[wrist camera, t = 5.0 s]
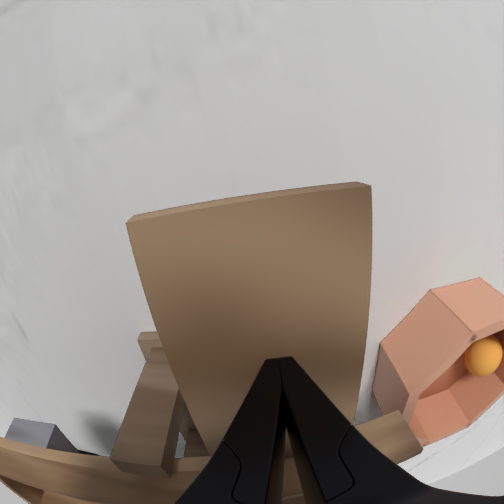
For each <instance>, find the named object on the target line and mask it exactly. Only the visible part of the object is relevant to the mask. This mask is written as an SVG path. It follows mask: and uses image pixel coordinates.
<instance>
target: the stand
mask: <svg viewBox="0 0 504 504" xmlns="http://www.w3.org/2000/svg"><path fill="white" fill-rule="evenodd" d="M137 340H138V343H139V345H140V348H141V350H142V353H143V355H144V357H145V360H146V363H145V365H144V368H143V370H142V373H141V375H140V378H139V380H138V383H137V386H136V388H135V391H134V393H133V396H132V398H131V401H130V404H129V406H128V409H127V412H126V414H125V417H124V420H123V422H122V425H121V428H120V431H119V434H118V436H117V439H116V442H115V445H114V448H113V451H112V453H111V456H110V460H111V461H112V462H113V463H114V464H115V465H116V466H117V467H118V468H119V469H120V470H121V471H122V472H127V473H133V474H139V475H147V476H155V477H164V478H171V473H172V467H173V462H174V456H175V451H176V446H177V440H178V435H179V430H180V432H181V434H182V436H183V437H184V439H185V440H186V446H185V452H184V458H191V457H205V456H210V454H209V452H208V450H207V448H206V446H205V444H204V442H203V440H202V438H201V436H200V434H199V432H198V430H197V428H196V425H195V423H194V421H193V419H192V417H191V415H190V412H189V410H188V408H187V406H186V403H185V401H184V399H183V397H182V394H181V392H180V389H179V387H178V385H177V382H176V380H175V377H174V375H173V372H172V370H171V367H170V365H169V362H168V360H167V357H166V354H165V352H164V349H163V346H162V343H161V341H160V338H159V335H158V332H141V333H140V335H139V337H138V339H137Z"/></svg>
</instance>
